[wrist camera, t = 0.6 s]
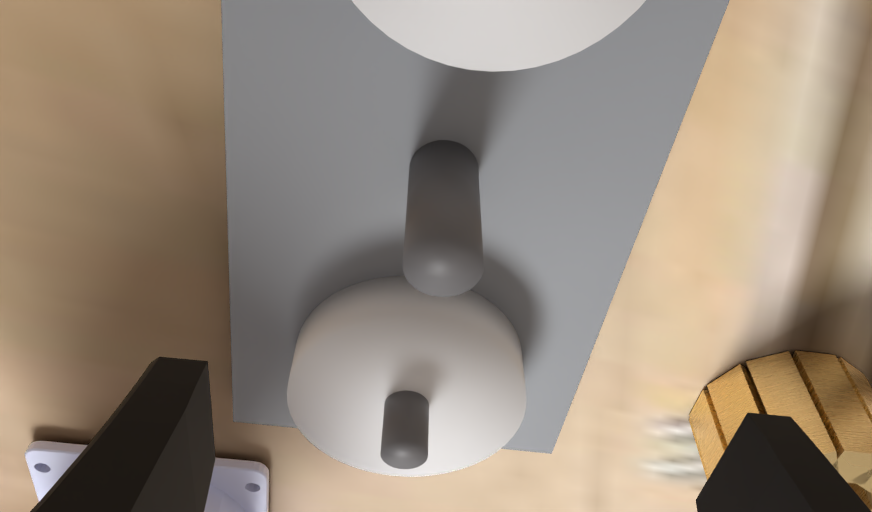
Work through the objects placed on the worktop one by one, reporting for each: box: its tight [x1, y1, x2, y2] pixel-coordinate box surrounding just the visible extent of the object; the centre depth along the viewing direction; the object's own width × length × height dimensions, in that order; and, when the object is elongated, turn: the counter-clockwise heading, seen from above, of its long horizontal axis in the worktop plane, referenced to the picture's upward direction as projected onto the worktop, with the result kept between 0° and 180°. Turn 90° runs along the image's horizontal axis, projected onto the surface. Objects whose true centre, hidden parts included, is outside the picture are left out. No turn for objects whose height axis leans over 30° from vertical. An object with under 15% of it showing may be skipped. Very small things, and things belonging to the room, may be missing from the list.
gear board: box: [221, 0, 729, 477], centre depth 17 cm, size 20×10×4 cm, turn 172°
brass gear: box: [689, 351, 872, 512], centre depth 23 cm, size 5×5×4 cm
